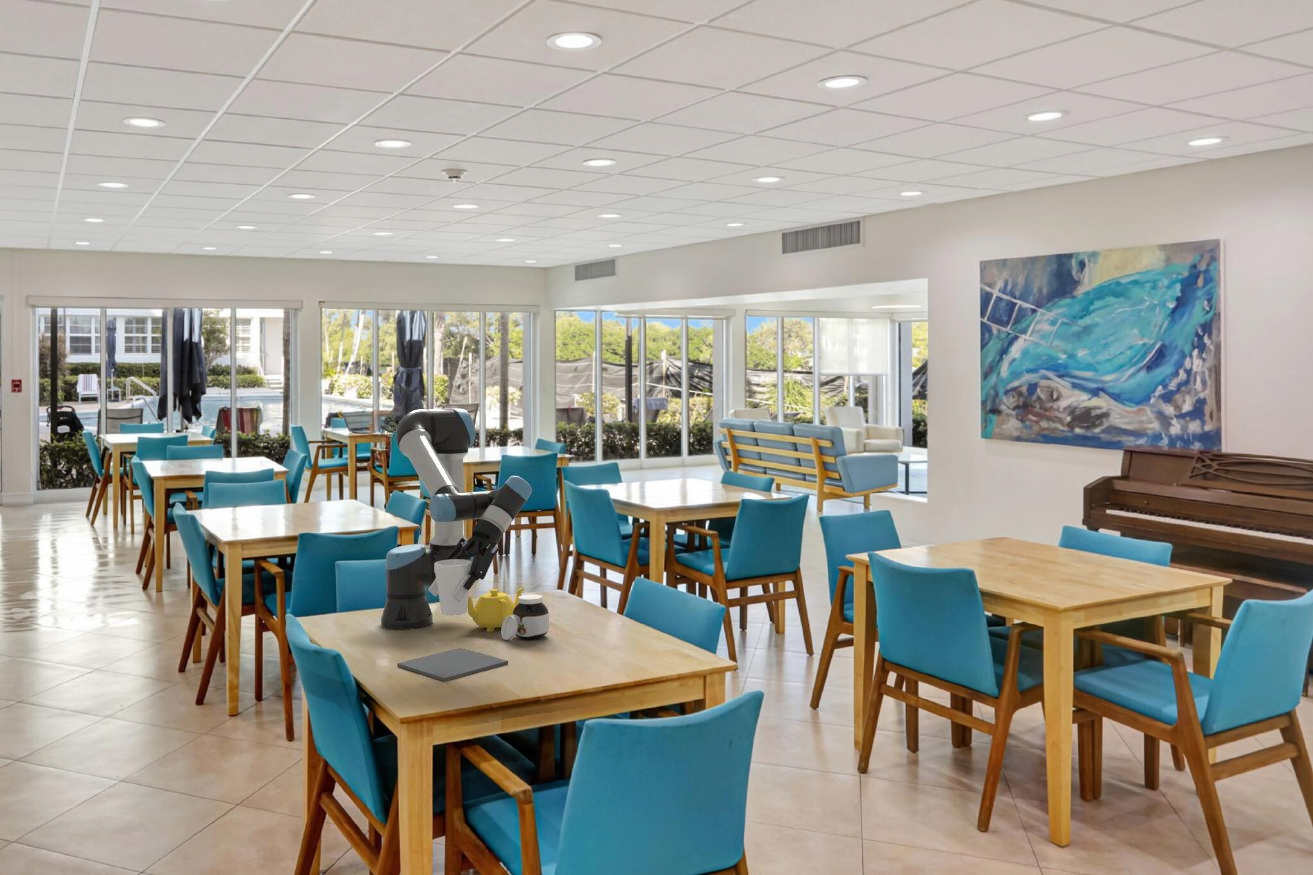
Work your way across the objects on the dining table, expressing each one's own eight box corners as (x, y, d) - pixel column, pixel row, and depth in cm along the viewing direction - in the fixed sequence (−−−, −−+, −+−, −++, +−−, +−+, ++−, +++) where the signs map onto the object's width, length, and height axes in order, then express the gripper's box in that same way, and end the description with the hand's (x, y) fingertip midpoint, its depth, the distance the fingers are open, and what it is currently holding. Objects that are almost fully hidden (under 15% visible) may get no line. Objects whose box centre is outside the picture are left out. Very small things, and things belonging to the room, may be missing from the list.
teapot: (474, 638, 291) (473, 598, 290) (454, 628, 304) (454, 589, 303) (538, 628, 302) (537, 590, 301) (516, 618, 314) (515, 582, 314)
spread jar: (553, 636, 293) (552, 596, 292) (528, 645, 283) (528, 603, 283) (520, 631, 299) (519, 591, 298) (495, 640, 289) (494, 599, 289)
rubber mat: (397, 666, 264) (397, 663, 264) (460, 650, 278) (460, 647, 278) (444, 681, 250) (444, 678, 250) (508, 663, 265) (507, 660, 265)
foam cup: (446, 618, 257) (445, 567, 256) (428, 612, 264) (427, 562, 263) (479, 612, 263) (478, 562, 262) (461, 606, 270) (460, 557, 269)
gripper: (527, 539, 267) (479, 610, 256) (473, 531, 281) (426, 598, 271) (511, 521, 262) (462, 593, 252) (457, 514, 277) (409, 581, 266)
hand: (443, 595), depth 261 cm, fingers closed on foam cup, 9 cm apart
